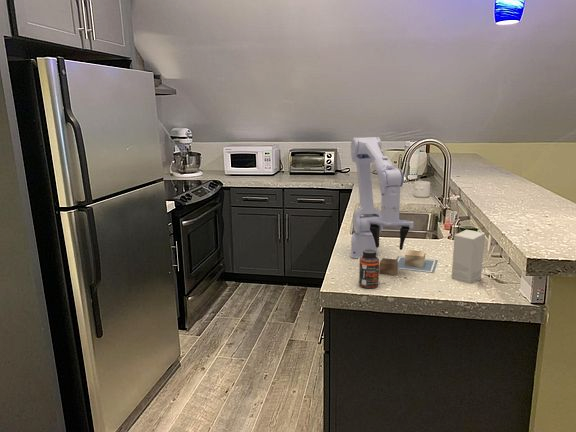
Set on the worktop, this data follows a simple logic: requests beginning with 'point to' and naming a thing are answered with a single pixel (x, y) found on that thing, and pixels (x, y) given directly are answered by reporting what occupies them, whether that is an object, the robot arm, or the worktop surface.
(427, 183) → the mug
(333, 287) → the worktop surface
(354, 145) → the robot arm
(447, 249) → the worktop surface
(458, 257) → the skincare box
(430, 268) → the board
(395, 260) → the walnut cube
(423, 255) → the maple base block
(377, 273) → the supplement bottle
